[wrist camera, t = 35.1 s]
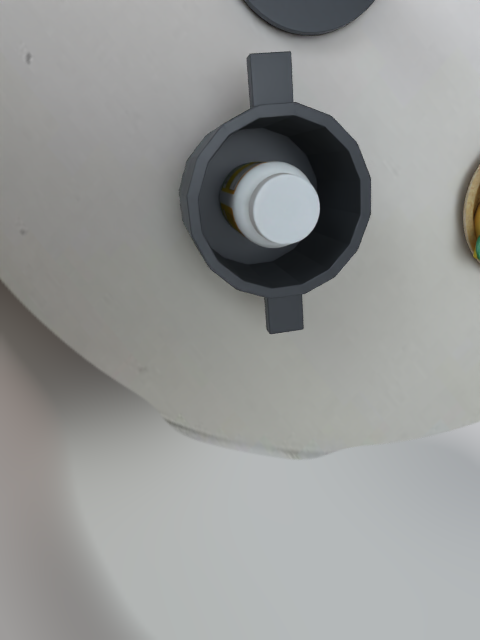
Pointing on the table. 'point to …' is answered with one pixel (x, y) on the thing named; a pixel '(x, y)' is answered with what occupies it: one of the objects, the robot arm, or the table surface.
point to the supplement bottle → (269, 203)
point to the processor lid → (309, 14)
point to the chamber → (299, 151)
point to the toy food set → (473, 215)
